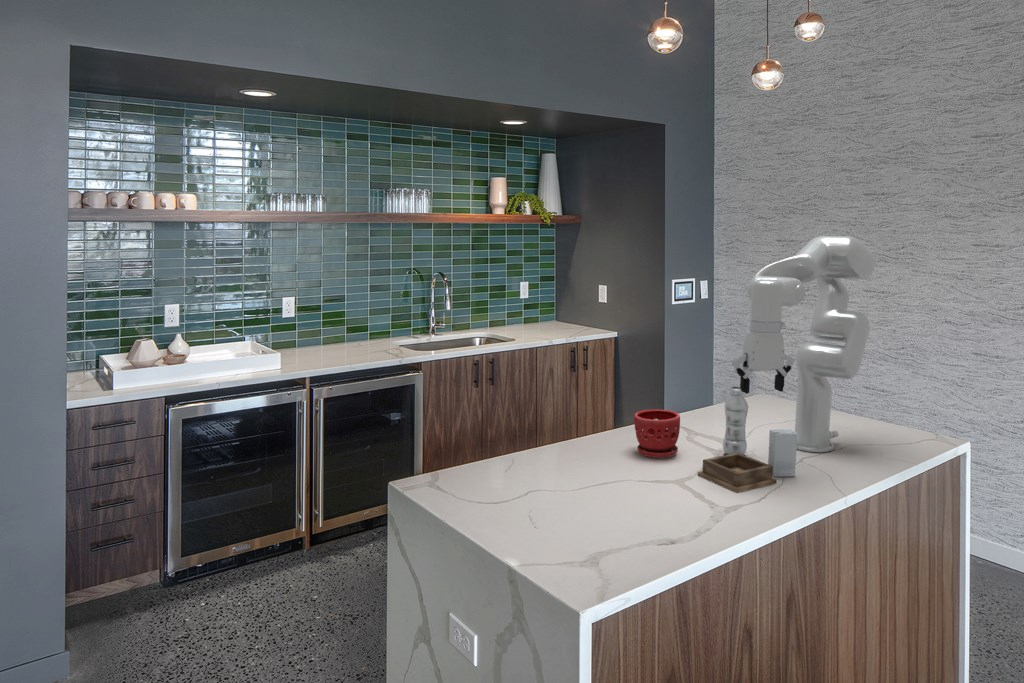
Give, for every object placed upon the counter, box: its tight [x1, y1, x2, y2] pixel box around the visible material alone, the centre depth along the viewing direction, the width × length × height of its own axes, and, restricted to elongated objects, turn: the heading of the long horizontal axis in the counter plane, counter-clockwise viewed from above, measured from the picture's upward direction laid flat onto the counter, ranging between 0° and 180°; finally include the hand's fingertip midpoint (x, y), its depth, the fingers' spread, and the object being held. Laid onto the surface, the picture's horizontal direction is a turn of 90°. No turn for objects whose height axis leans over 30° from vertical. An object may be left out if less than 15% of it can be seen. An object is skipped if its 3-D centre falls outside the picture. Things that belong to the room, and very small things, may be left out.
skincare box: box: [767, 429, 797, 478], centre depth 191 cm, size 6×4×12 cm
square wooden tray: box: [697, 453, 778, 494], centre depth 188 cm, size 14×14×4 cm
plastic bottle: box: [722, 386, 749, 455], centre depth 206 cm, size 6×7×20 cm
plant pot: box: [633, 409, 681, 459], centre depth 209 cm, size 13×13×12 cm
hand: (761, 391), depth 189 cm, fingers open, 9 cm apart
